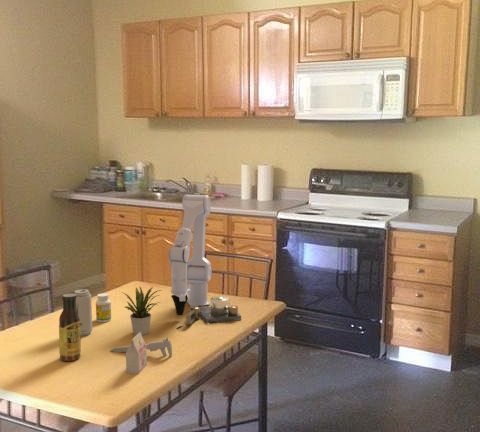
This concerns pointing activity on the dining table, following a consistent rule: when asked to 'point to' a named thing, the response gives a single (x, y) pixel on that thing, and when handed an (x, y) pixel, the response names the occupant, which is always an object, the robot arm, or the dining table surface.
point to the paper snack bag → (136, 355)
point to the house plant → (141, 311)
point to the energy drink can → (84, 310)
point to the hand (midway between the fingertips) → (179, 314)
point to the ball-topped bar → (193, 314)
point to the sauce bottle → (69, 330)
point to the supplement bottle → (103, 308)
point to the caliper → (151, 347)
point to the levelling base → (216, 317)
